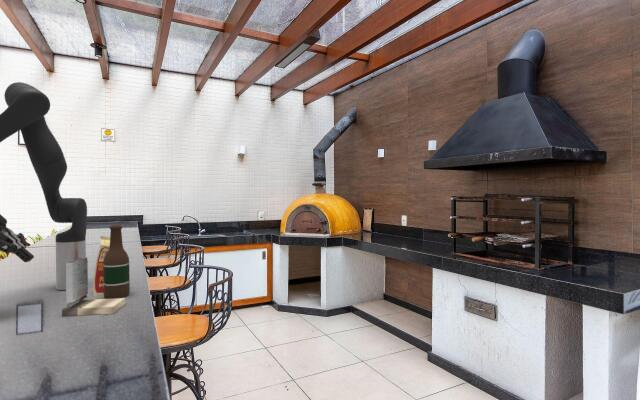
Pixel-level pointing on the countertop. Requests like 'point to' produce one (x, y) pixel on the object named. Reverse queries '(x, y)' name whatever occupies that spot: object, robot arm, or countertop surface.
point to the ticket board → (94, 307)
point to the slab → (76, 281)
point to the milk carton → (100, 267)
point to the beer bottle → (116, 267)
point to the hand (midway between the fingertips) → (30, 259)
